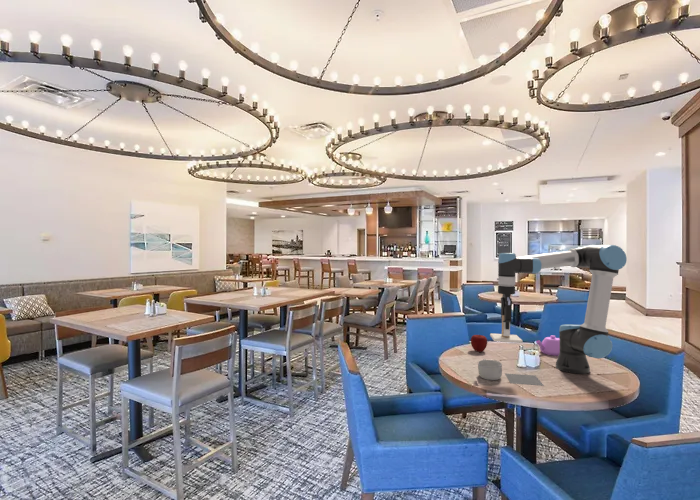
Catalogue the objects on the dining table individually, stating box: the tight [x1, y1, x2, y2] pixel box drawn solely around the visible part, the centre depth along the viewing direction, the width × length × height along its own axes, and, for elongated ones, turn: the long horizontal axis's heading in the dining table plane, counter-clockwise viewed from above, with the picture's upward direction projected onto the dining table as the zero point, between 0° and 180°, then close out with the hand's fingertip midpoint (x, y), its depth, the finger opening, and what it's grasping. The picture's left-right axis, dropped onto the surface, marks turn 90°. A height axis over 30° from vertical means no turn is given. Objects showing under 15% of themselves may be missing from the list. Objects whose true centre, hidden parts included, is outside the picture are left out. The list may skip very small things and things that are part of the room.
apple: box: [470, 334, 488, 353], centre depth 226 cm, size 10×10×10 cm
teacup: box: [477, 358, 503, 381], centre depth 178 cm, size 14×11×8 cm
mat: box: [504, 373, 545, 387], centre depth 173 cm, size 14×14×1 cm
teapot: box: [535, 335, 560, 357], centre depth 222 cm, size 14×20×11 cm
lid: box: [489, 315, 523, 344], centre depth 175 cm, size 12×12×11 cm
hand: (505, 334), depth 175 cm, fingers closed on lid, 3 cm apart
